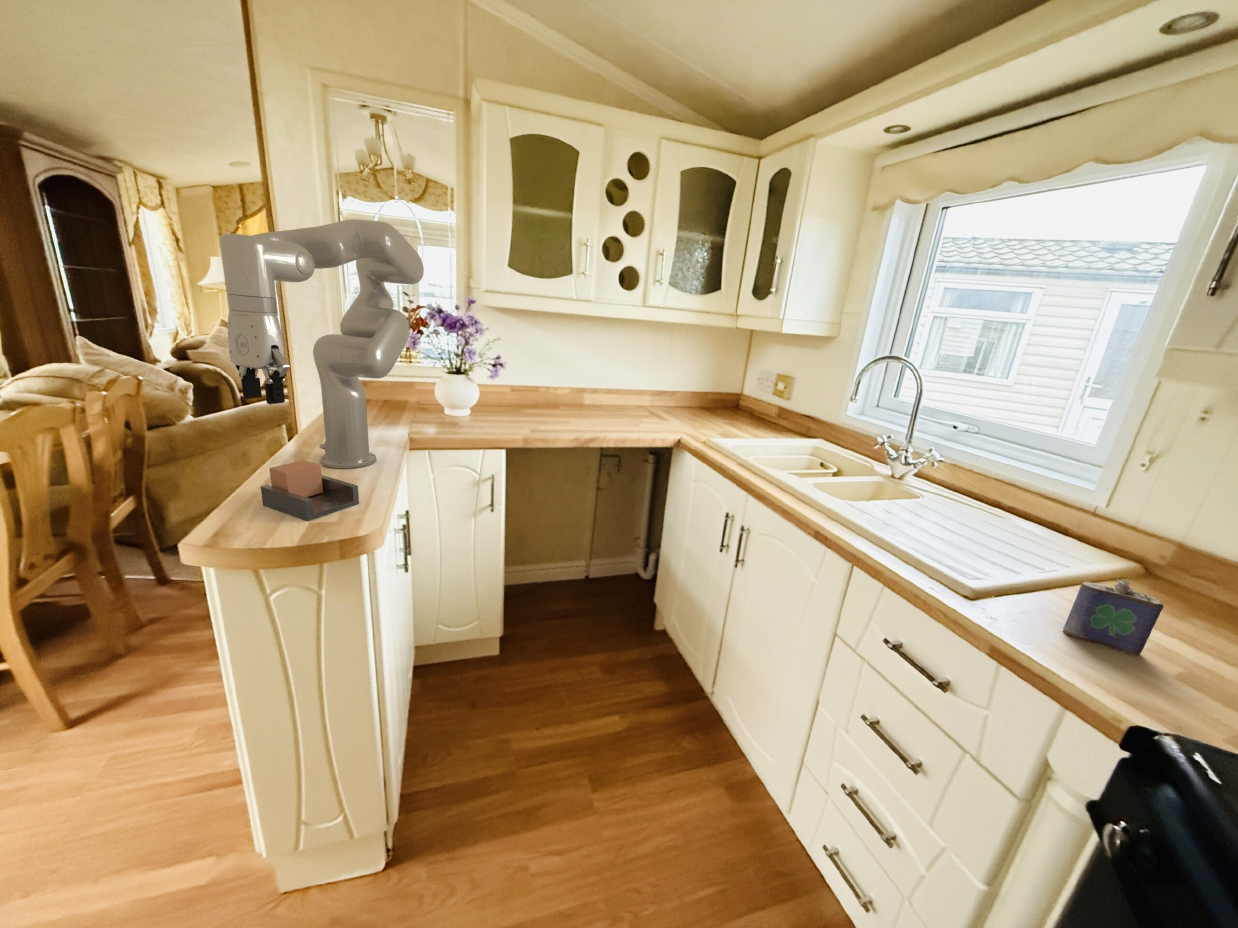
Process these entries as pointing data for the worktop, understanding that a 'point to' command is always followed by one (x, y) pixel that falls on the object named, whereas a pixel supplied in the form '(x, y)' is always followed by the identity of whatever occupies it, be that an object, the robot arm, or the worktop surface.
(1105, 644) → the flask
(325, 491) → the chute
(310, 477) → the block
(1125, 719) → the worktop surface
